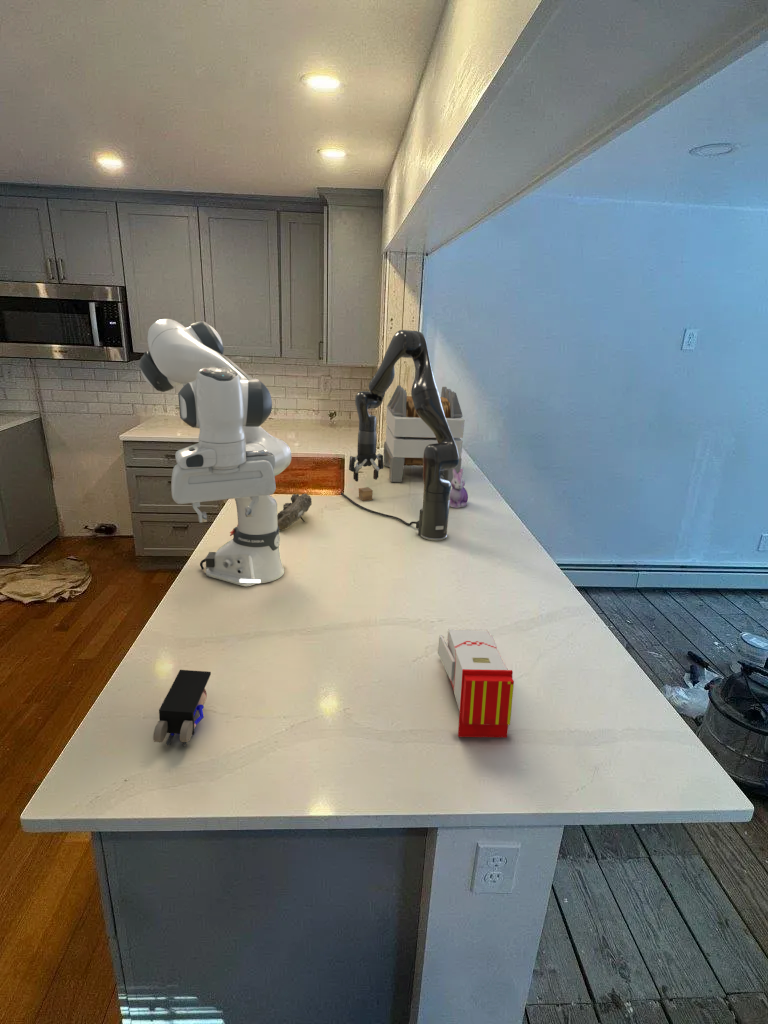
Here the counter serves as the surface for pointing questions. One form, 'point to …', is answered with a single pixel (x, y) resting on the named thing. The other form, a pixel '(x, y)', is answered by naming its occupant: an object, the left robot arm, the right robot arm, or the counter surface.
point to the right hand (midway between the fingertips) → (365, 480)
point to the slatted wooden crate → (417, 432)
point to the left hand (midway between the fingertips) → (226, 518)
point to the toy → (478, 682)
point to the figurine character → (182, 706)
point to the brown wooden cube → (365, 494)
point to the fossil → (293, 510)
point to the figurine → (458, 490)
